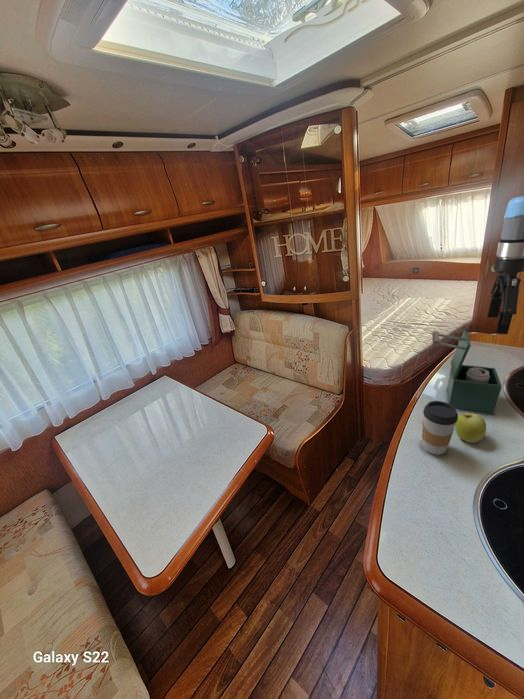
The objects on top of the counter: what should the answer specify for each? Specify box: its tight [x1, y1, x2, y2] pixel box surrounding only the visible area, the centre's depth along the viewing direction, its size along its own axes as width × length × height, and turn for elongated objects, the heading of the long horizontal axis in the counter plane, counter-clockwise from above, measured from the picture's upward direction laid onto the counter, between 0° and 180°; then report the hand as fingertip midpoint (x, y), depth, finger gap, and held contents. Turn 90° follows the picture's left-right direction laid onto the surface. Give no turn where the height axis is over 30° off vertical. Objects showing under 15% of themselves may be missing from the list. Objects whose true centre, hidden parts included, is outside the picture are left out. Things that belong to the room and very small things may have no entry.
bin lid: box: [431, 329, 472, 379], centre depth 94 cm, size 13×12×10 cm
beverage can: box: [465, 367, 490, 383], centre depth 95 cm, size 6×6×12 cm
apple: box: [454, 412, 487, 443], centre depth 83 cm, size 8×8×10 cm
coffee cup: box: [421, 400, 459, 456], centre depth 80 cm, size 8×8×15 cm
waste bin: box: [446, 364, 503, 416], centre depth 96 cm, size 13×12×12 cm
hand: (496, 325), depth 87 cm, fingers open, 13 cm apart
